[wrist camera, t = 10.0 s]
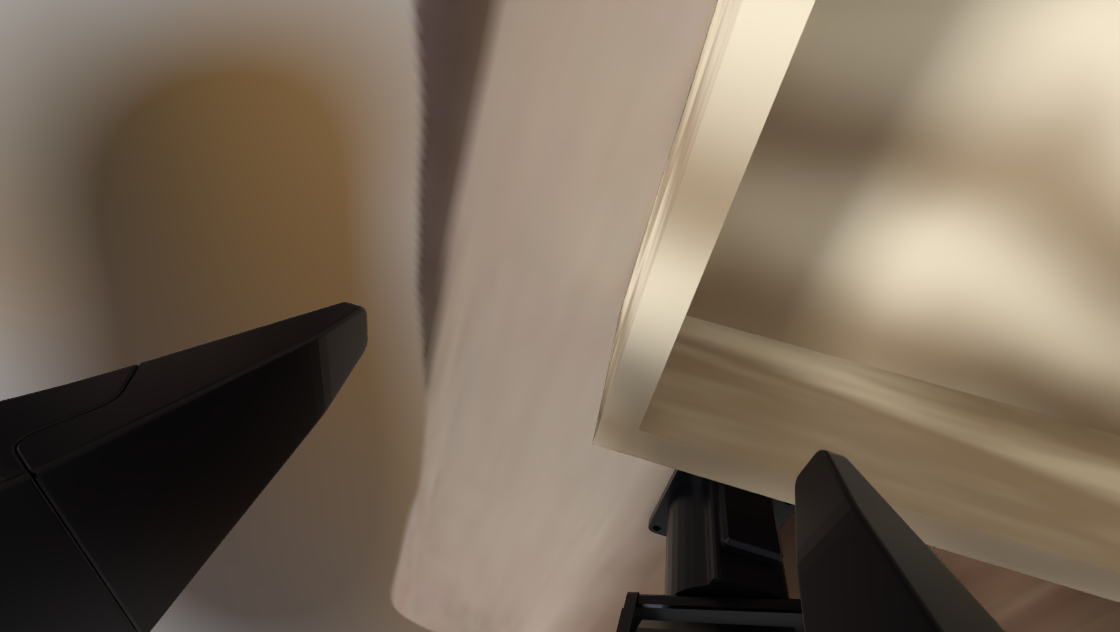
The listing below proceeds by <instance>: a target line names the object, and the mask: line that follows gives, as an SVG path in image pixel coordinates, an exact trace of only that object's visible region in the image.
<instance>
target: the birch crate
mask: <svg viewBox="0 0 1120 632" xmlns="http://www.w3.org/2000/svg"><path fill="white" fill-rule="evenodd" d="M592 444H594V445H597V446H601V447H604V448H607V449H611V450H614V451H617V452H621V453H624V454H627V455H631V456H634V457H637V458H641V459H644V460H647V461H651V462H654V463H657V464H661V465H664V466H667V467H671V468H674V469H677V470H680V471H684V472H687V473H690V474H694V475H697V476H700V477H704V478H707V479H710V480H714V481H717V482H720V483H724V484H727V485H730V486H734V487H737V488H740V489H744V490H747V491H750V492H754V493H757V494H760V495H764V496H767V497H770V498H774V499H777V500H780V501H784V502H787V503H790V504H793V505H795V482H796V479H797V477H798V475H799V473H800V472H801V471H802V470H803V468H804V467H805V466H806V465H807V463H808V462H809V461H810V459H811V458H812V457H813V456H814V454H815V453H816V452H817V451H819V450H823V449H824V450H828V451H832V452H835V453H838V454H841V455H843V456H845V457H846V458H847V459H848V460H849V461H850V462H851V463H852V464H853V465H854V466H855V467H856V469H857V470H858V471H859V472H860V473H861V474H862V475H863V476H864V477H865V478H866V479H867V481H868V482H869V483H870V484H871V485H872V486H873V487H874V488H875V489H876V490H877V492H878V493H879V494H880V495H881V496H882V497H883V498H884V499H885V500H886V501H887V502H888V504H889V505H890V506H891V507H892V508H893V509H894V510H895V511H896V512H897V513H898V514H899V516H900V517H901V518H902V519H903V520H904V521H905V522H906V523H907V524H908V525H909V526H910V528H911V529H912V530H913V531H914V532H915V533H916V534H917V535H918V536H919V537H920V539H921V540H922V541H923V542H924V543H925V544H926V545H930V546H933V547H936V548H940V549H943V550H946V551H950V552H953V553H956V554H960V555H963V556H966V557H970V558H973V559H976V560H980V561H983V562H986V563H990V564H993V565H996V566H1000V567H1003V568H1006V569H1010V570H1013V571H1016V572H1020V573H1023V574H1026V575H1030V576H1033V577H1036V578H1039V579H1043V580H1046V581H1049V582H1053V583H1056V584H1059V585H1063V586H1066V587H1069V588H1073V589H1076V590H1079V591H1083V592H1086V593H1089V594H1093V595H1096V596H1099V597H1103V598H1106V599H1109V600H1113V601H1116V602H1119V603H1120V0H718V3H717V6H716V9H715V12H714V15H713V18H712V22H711V25H710V28H709V31H708V34H707V38H706V41H705V44H704V47H703V50H702V53H701V57H700V60H699V63H698V66H697V69H696V73H695V76H694V79H693V82H692V85H691V88H690V92H689V95H688V98H687V101H686V104H685V107H684V111H683V114H682V117H681V120H680V123H679V127H678V130H677V133H676V136H675V139H674V142H673V146H672V149H671V152H670V155H669V158H668V162H667V165H666V168H665V171H664V174H663V177H662V181H661V184H660V187H659V190H658V193H657V197H656V200H655V203H654V206H653V209H652V212H651V216H650V219H649V222H648V225H647V228H646V232H645V235H644V238H643V241H642V244H641V247H640V251H639V254H638V257H637V260H636V263H635V267H634V270H633V273H632V276H631V279H630V282H629V286H628V289H627V292H626V295H625V298H624V302H623V305H622V308H621V311H620V314H619V319H618V324H617V328H616V333H615V338H614V343H613V348H612V352H611V357H610V362H609V367H608V372H607V376H606V381H605V386H604V391H603V396H602V400H601V405H600V410H599V415H598V419H597V424H596V429H595V434H594V439H593V443H592Z"/></svg>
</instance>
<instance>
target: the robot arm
mask: <svg viewBox="0 0 1120 632" xmlns="http://www.w3.org/2000/svg"><path fill="white" fill-rule="evenodd" d="M367 341H368V334H367V312H366V310H365V308H363V307H361V306H358V305H355V304H352V303H348V302H342V303H339V304H335V305H332V306H329V307H325V308H322V309H318V310H315V311H312V312H308V313H305V314H302V315H298V316H295V317H292V318H288V319H285V320H282V321H278V322H275V323H272V324H268V325H265V326H262V327H259V328H255V329H252V330H248V331H245V332H242V333H238V334H235V335H232V336H228V337H225V338H222V339H218V340H215V341H212V342H208V343H205V344H202V345H198V346H195V347H192V348H188V349H185V350H182V351H178V352H175V353H171V354H169V355H165V356H161V357H158V358H155V359H152V360H148V361H145V362H142V363H140V365H131V366H128V367H125V368H121V369H118V370H115V371H111V372H108V373H104V374H101V375H97V376H94V377H90V378H87V379H84V380H80V381H76V382H73V383H69V384H66V385H62V386H58V387H54V388H51V389H46V390H42V391H39V392H35V393H30V394H27V395H23V396H19V397H15V398H11V399H7V400H3V401H0V632H150V631H151V630H152V629H153V627H154V626H155V625H156V624H157V622H158V621H159V620H160V619H161V617H162V616H163V615H164V614H165V612H166V611H167V610H168V609H169V607H170V606H171V605H172V604H173V602H174V601H175V600H176V599H177V597H178V596H179V595H180V593H181V592H182V591H183V590H184V589H185V587H186V586H187V585H188V584H189V582H190V581H191V580H192V579H193V577H194V576H195V575H196V574H197V572H198V571H199V570H200V569H201V567H202V566H203V565H204V564H205V562H206V561H207V560H208V559H209V557H210V556H211V555H212V554H213V552H214V551H215V550H216V549H217V547H218V546H219V545H220V544H221V542H222V541H223V540H224V539H225V537H226V536H227V535H228V534H229V532H230V531H231V530H232V529H233V527H234V526H235V525H236V524H237V522H238V521H239V520H240V519H241V517H242V516H243V515H244V514H245V512H246V511H247V510H248V509H249V507H250V506H251V505H252V504H253V503H254V501H255V500H256V499H257V497H258V496H259V495H260V494H261V493H262V491H263V490H264V489H265V487H266V486H267V485H268V484H269V483H270V481H271V480H272V479H273V477H274V476H275V475H276V474H277V472H278V471H279V470H280V469H281V468H282V466H283V465H284V464H285V463H286V461H287V460H288V459H289V458H290V456H291V455H292V454H293V453H294V451H295V450H296V449H297V447H298V446H299V445H300V444H301V443H302V441H303V440H304V439H305V438H306V436H307V435H308V434H309V433H310V431H311V430H312V429H313V427H314V426H315V425H316V424H317V422H318V421H319V420H320V419H321V417H322V416H323V415H324V413H325V412H326V410H327V409H328V408H329V406H330V405H331V403H332V402H333V400H334V398H335V397H336V395H337V394H338V392H339V391H340V389H341V387H342V386H343V384H344V383H345V381H346V379H347V378H348V376H349V375H350V373H351V372H352V370H353V368H354V367H355V365H356V364H357V362H358V360H359V359H360V357H361V356H362V354H363V352H364V351H365V348H366V346H367ZM794 510H795V530H796V564H797V574H798V583H799V591H800V598H801V599H790V597H789V592H788V586H787V581H786V575H785V570H784V564H783V552H782V547H781V541H780V536H779V529H780V528H781V526H782V525H783V524H784V523H785V521H786V520H787V519H788V518H789V516H790V515H791V514H792V513H793V511H794ZM649 530H650V531H652V532H654V533H657V534H660V535H663V536H666V568H665V595H648V594H639V592H628V593H627V596H626V600H625V605H624V608H622V611H621V615H620V619H619V623H618V627H617V631H616V632H1006V631H1005V630H1004V629H1003V628H1002V627H1001V626H1000V625H999V624H998V623H997V622H996V620H995V619H994V618H993V617H992V616H991V615H990V614H989V613H988V612H987V611H986V610H985V608H984V607H983V606H982V605H981V604H980V603H979V602H978V601H977V600H976V599H975V598H974V596H973V595H972V594H971V593H970V592H969V591H968V590H967V589H966V588H965V587H964V586H963V584H962V583H961V582H960V581H959V580H958V579H957V578H956V577H955V576H954V575H953V573H952V572H951V571H950V570H949V569H948V568H947V567H946V566H945V565H944V564H943V563H942V561H941V560H940V559H939V558H938V557H937V556H936V555H935V554H934V553H933V552H932V551H931V549H930V548H929V547H928V546H927V545H926V544H925V543H924V542H923V541H922V540H921V539H920V537H919V536H918V535H917V534H916V533H915V532H914V531H913V530H912V529H911V528H910V526H909V525H908V524H907V523H906V522H905V521H904V520H903V519H902V518H901V517H900V516H899V514H898V513H897V512H896V511H895V510H894V509H893V508H892V507H891V506H890V505H889V504H888V502H887V501H886V500H885V499H884V498H883V497H882V496H881V495H880V494H879V493H878V492H877V490H876V489H875V488H874V487H873V486H872V485H871V484H870V483H869V482H868V481H867V479H866V478H865V477H864V476H863V475H862V474H861V473H860V472H859V471H858V470H857V469H856V467H855V466H854V465H853V464H852V463H851V462H850V461H849V460H848V459H847V458H846V457H845V456H843V455H841V454H838V453H835V452H832V451H828V450H824V449H823V450H819V451H817V452H816V453H815V454H814V456H813V457H812V458H811V459H810V461H809V462H808V463H807V465H806V466H805V467H804V468H803V470H802V471H801V472H800V473H799V475H798V477H797V479H796V482H795V505H793V504H790V503H787V502H784V501H780V500H777V499H774V498H770V497H767V496H764V495H760V494H757V493H754V492H750V491H747V490H744V489H740V488H737V487H734V486H730V485H727V484H724V483H720V482H717V481H714V480H710V479H707V478H704V477H700V476H697V475H694V474H690V473H687V472H684V471H680V470H677V469H675V470H674V472H673V474H672V476H671V478H670V480H669V482H668V484H667V486H666V488H665V490H664V492H663V494H662V496H661V498H660V500H659V502H658V504H657V506H656V508H655V510H654V512H653V513H652V515H651V517H650V519H649Z"/></svg>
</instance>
